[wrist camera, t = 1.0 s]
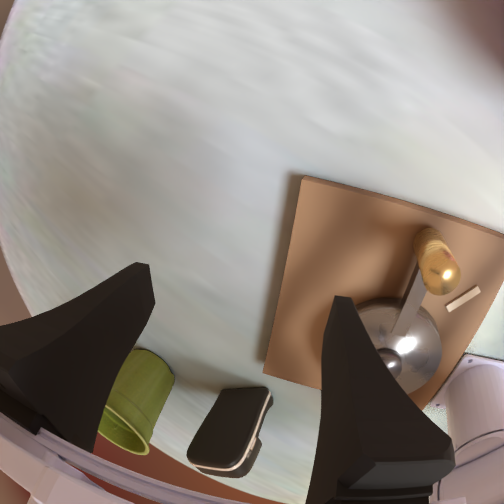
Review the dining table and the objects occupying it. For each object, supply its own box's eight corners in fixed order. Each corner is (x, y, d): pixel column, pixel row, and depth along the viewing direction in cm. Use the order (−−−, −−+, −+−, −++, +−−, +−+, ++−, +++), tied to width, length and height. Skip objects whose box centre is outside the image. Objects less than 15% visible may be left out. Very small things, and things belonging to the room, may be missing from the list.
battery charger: (233, 407, 38) (197, 476, 29) (219, 387, 37) (178, 459, 27) (281, 405, 35) (250, 485, 25) (269, 385, 34) (234, 467, 24)
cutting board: (512, 237, 19) (519, 246, 18) (420, 401, 28) (421, 412, 27) (305, 175, 23) (301, 180, 22) (266, 363, 33) (261, 374, 31)
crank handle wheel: (410, 392, 26) (410, 434, 22) (315, 369, 29) (304, 411, 24) (488, 245, 19) (513, 280, 14) (368, 208, 21) (369, 236, 16)
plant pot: (110, 322, 39) (56, 374, 30) (186, 350, 36) (135, 419, 26) (127, 379, 45) (86, 428, 35) (194, 407, 41) (157, 466, 32)
